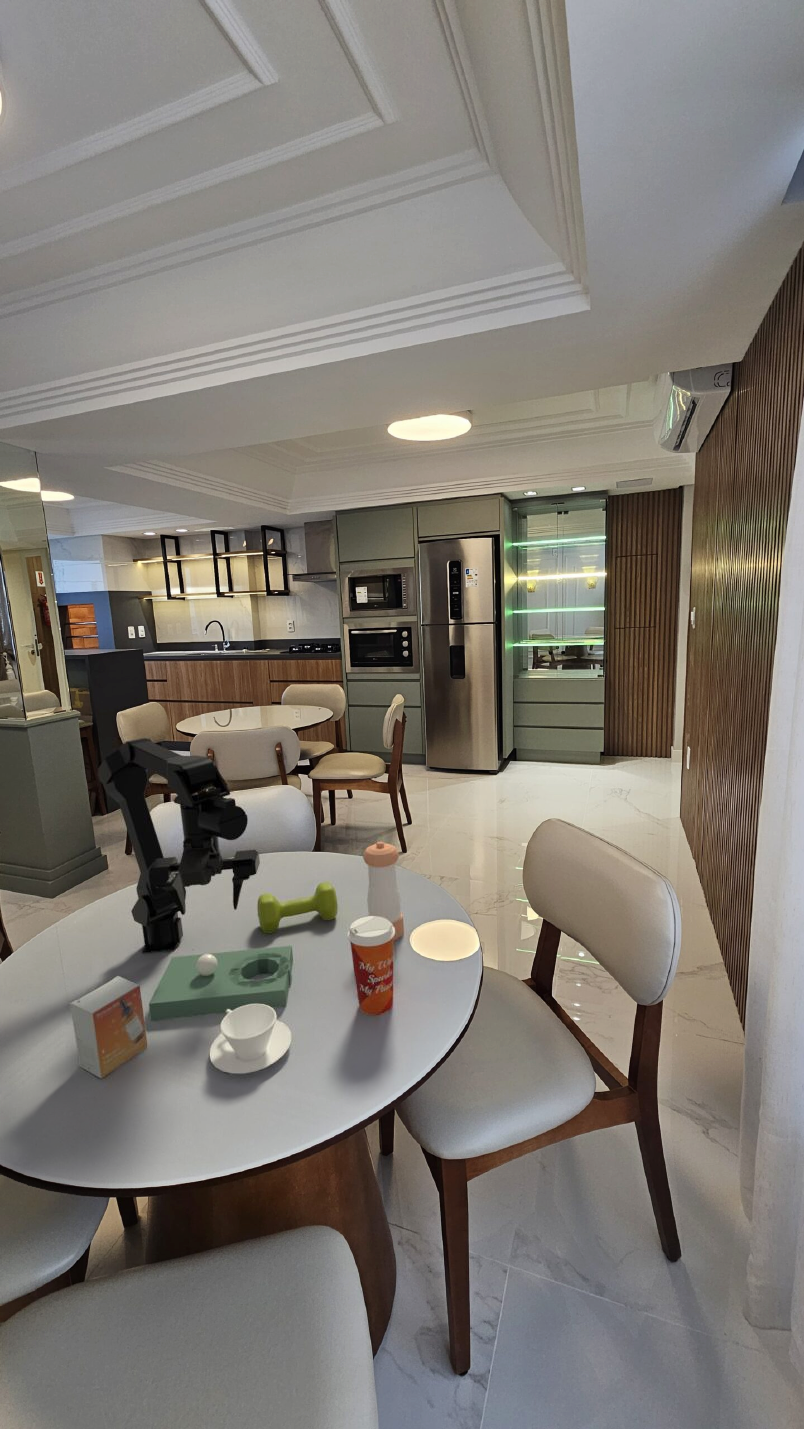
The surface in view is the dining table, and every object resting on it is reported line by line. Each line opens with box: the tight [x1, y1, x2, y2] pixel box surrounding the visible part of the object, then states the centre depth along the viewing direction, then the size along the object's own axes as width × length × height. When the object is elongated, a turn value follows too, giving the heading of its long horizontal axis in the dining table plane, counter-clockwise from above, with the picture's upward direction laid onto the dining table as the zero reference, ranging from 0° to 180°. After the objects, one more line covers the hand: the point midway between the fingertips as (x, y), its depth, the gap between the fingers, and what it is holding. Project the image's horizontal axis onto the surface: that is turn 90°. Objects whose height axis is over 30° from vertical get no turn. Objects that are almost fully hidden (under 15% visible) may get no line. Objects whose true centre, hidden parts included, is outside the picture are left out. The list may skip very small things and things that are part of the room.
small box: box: [69, 975, 148, 1079], centre depth 94 cm, size 8×6×10 cm
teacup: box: [209, 1004, 292, 1075], centre depth 94 cm, size 12×12×5 cm
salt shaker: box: [362, 841, 405, 941], centre depth 125 cm, size 7×7×19 cm
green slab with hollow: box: [148, 945, 294, 1021], centre depth 111 cm, size 22×14×3 cm, turn 95°
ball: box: [196, 953, 218, 976], centre depth 110 cm, size 4×4×4 cm
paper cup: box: [347, 916, 395, 1016], centre depth 103 cm, size 8×8×14 cm
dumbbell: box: [256, 881, 339, 934], centre depth 133 cm, size 16×8×7 cm, turn 109°
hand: (209, 911), depth 114 cm, fingers open, 9 cm apart
